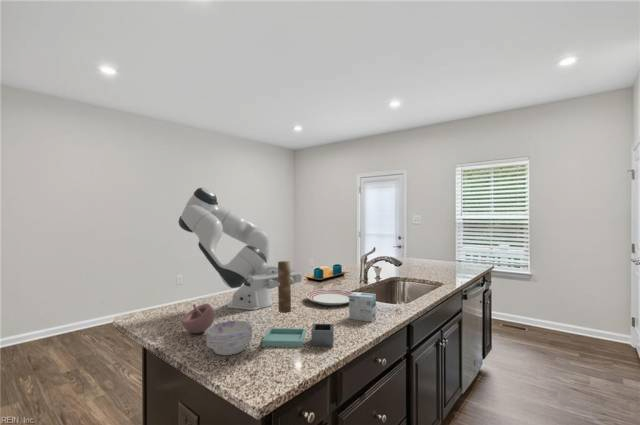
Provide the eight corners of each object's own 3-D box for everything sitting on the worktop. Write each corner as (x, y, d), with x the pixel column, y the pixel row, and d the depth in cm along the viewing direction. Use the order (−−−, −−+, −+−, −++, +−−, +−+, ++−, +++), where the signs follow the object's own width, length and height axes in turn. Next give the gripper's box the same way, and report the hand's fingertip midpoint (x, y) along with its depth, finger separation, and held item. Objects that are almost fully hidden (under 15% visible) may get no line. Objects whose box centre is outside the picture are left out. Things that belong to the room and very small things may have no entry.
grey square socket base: (311, 348, 109) (311, 331, 109) (313, 339, 117) (313, 323, 117) (333, 348, 109) (333, 331, 109) (333, 340, 116) (333, 323, 116)
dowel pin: (277, 313, 113) (276, 263, 114) (279, 309, 118) (279, 261, 118) (289, 313, 113) (289, 263, 113) (291, 309, 118) (291, 261, 118)
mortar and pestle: (178, 331, 126) (178, 302, 126) (208, 324, 133) (208, 297, 133) (186, 340, 117) (186, 310, 117) (218, 333, 124) (218, 304, 124)
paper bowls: (232, 337, 119) (232, 316, 119) (261, 347, 111) (261, 324, 111) (196, 352, 107) (196, 329, 107) (225, 364, 98) (225, 339, 98)
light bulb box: (376, 317, 140) (376, 293, 140) (372, 322, 134) (372, 297, 134) (353, 314, 145) (353, 291, 145) (348, 319, 139) (348, 294, 139)
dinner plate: (357, 294, 180) (357, 289, 180) (357, 309, 153) (357, 302, 153) (310, 293, 184) (310, 287, 184) (301, 307, 156) (301, 301, 156)
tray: (262, 347, 110) (262, 340, 110) (270, 334, 122) (270, 327, 122) (302, 348, 109) (302, 341, 109) (306, 335, 121) (305, 328, 121)
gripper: (244, 271, 121) (258, 278, 109) (291, 266, 132) (309, 271, 120) (244, 288, 121) (258, 296, 109) (291, 281, 132) (309, 287, 120)
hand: (285, 283), depth 115 cm, fingers closed on dowel pin, 4 cm apart
